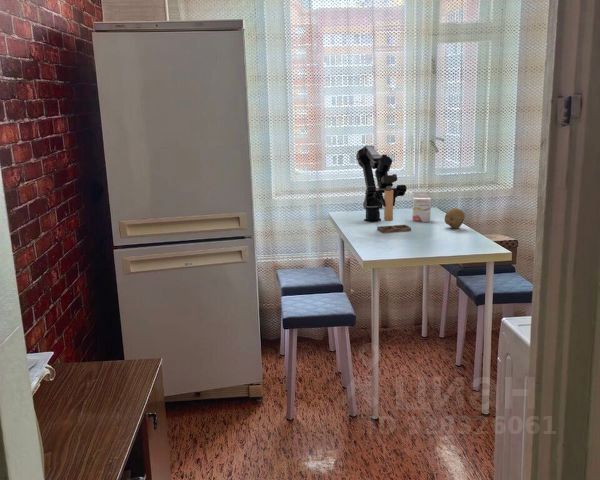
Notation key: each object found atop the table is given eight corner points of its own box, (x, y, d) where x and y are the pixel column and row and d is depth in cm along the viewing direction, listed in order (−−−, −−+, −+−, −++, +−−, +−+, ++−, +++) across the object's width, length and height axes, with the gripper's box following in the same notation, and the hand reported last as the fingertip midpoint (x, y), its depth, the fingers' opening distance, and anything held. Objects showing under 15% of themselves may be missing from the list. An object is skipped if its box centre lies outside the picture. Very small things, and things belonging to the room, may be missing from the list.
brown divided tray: (382, 234, 287) (382, 229, 286) (377, 230, 294) (377, 226, 293) (410, 231, 290) (411, 227, 290) (405, 228, 297) (405, 224, 296)
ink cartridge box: (413, 222, 311) (413, 192, 308) (412, 220, 316) (412, 191, 312) (430, 222, 310) (431, 192, 307) (429, 219, 315) (430, 191, 311)
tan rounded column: (382, 220, 290) (382, 186, 287) (388, 218, 292) (389, 185, 289) (387, 221, 287) (388, 187, 283) (394, 220, 289) (395, 186, 285)
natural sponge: (449, 231, 288) (450, 210, 286) (440, 227, 297) (441, 207, 295) (467, 230, 291) (468, 209, 288) (457, 226, 299) (458, 205, 297)
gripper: (366, 169, 287) (373, 196, 279) (405, 167, 289) (413, 194, 281) (362, 183, 296) (368, 210, 288) (400, 181, 299) (407, 208, 291)
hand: (389, 205), depth 287 cm, fingers closed on tan rounded column, 4 cm apart
